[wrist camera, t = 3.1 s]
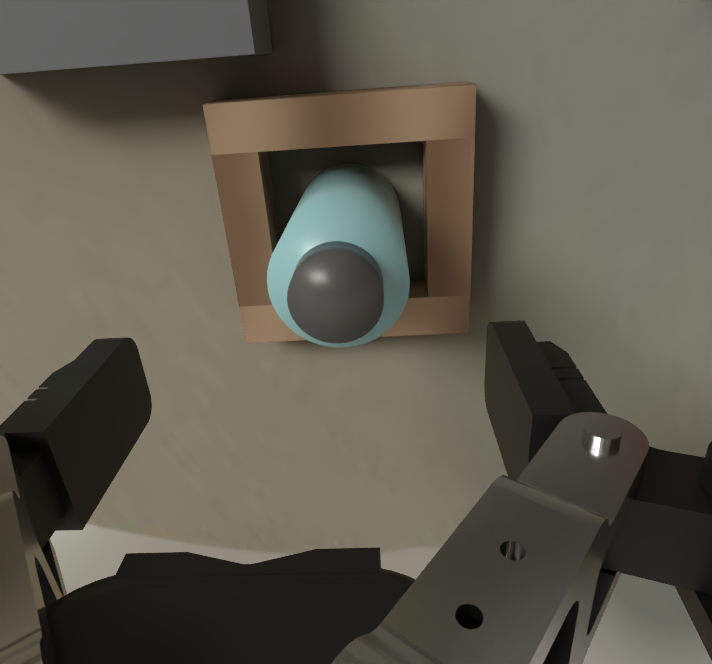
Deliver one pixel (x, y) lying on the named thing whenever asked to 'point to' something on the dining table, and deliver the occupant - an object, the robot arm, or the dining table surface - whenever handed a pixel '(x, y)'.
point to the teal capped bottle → (341, 260)
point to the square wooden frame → (348, 128)
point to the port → (127, 32)
